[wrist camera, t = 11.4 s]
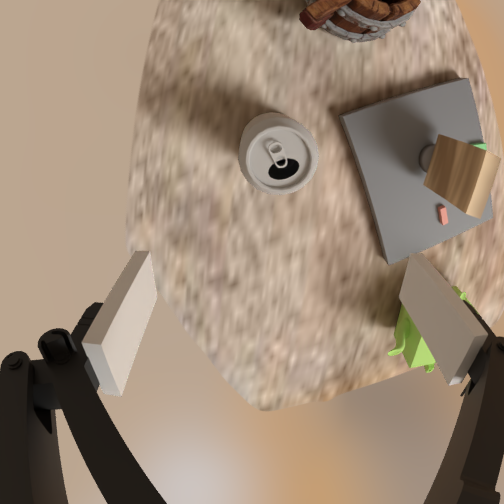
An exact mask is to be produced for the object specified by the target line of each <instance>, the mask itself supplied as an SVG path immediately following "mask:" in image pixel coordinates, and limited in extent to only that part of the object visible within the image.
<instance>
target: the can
mask: <svg viewBox="0 0 504 504" xmlns="http://www.w3.org/2000/svg"><path fill="white" fill-rule="evenodd" d="M318 158H319V153H318V148H317V143H316V141H315V139H314V138H313V136H312V134H311V132H310V131H309V130H307V129H306V128H305V127H304V126H303V125H302V124H301V123H299V122H297V121H295V120H294V119H292V118H290V117H288V116H286V115H283V114H281V113H274V112H269V113H264V114H260V115H258V116H257V117H255V118H253V119H252V120H251V121H250V122H249V123H248V124H247V125H246V126H245V129H244V131H243V133H242V136H241V141H240V146H239V156H238V160H239V164H240V169H241V172H242V173H243V175H244V176H245V178H246V180H247V181H248V182H249V183H250V184H251V185H252V186H254V187H255V188H256V189H257V190H260V191H262V192H265V193H267V194H274V195H284V194H289V193H293V192H295V191H297V190H299V189H300V188H302V187H304V186H305V185H306V184H307V183H308V182H309V181H310V180H311V179H312V177H313V175H314V173H315V171H316V169H317V165H318Z"/></svg>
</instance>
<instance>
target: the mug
mask: <svg viewBox="0 0 504 504" xmlns="http://www.w3.org/2000/svg"><path fill="white" fill-rule="evenodd" d="M305 1H306V2H307V7H306V8H305V9H304V10H303V11H302V12H301V13H300V18H299V20H300V21H301V22H302V23H303V24H304V26H305V27H306V28H307V29H310V30H316V29H317V28H319V27H320V26H321V27H322V28H324V29H326V30H327V31H328V32H329V33H331V34H333V35H335V36H338V37H340V38H342V39H344V40H349V41H351V42H353V43H355V42H365V41H371V40H375V39H377V38H381V39H383V38H385V34H386V33H387V32H389V31H390V30H391V29H393V28H394V27H396V26H398V25H399V26H401V27H403V26H405V24H406V22H405V21H407V20H409V18H410V17H411V15H412V14H413V12H414V11H415V9H416V8H417V7H418V5H419V4H420V2H421V1H420V0H305Z"/></svg>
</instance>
